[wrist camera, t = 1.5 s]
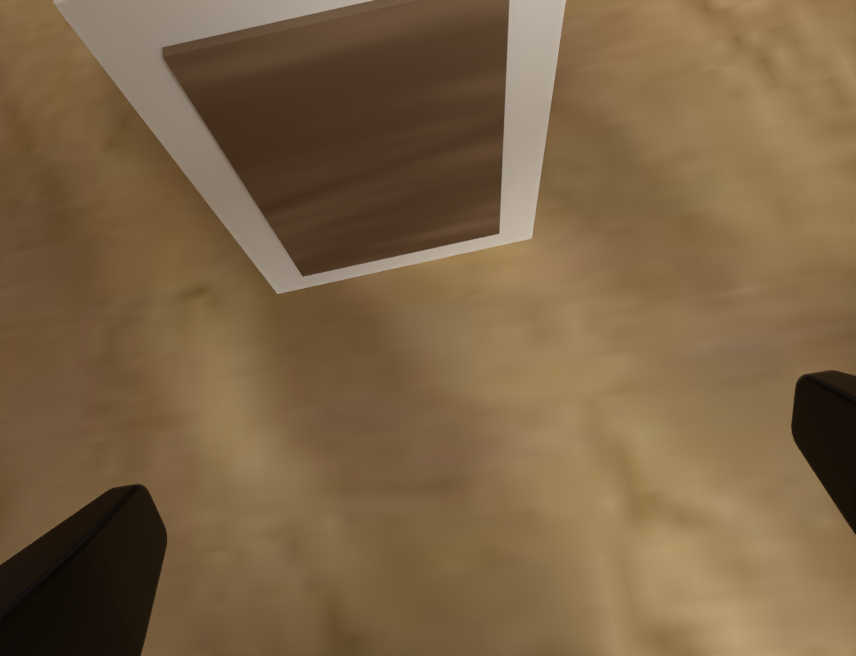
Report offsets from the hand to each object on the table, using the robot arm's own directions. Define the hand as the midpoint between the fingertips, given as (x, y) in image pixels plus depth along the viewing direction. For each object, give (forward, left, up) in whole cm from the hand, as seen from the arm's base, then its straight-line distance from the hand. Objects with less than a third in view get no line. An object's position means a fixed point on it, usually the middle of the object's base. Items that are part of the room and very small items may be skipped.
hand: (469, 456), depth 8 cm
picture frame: (+3, +13, -14) cm, 19 cm away
